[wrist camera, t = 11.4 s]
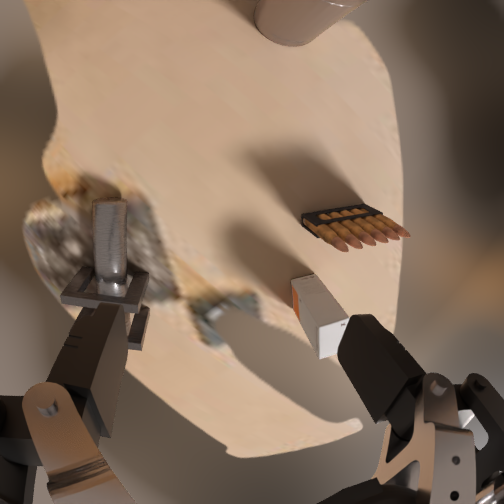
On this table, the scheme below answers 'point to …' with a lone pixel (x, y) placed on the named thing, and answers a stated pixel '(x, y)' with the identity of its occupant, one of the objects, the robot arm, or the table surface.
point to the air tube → (110, 248)
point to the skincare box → (318, 314)
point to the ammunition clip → (352, 226)
